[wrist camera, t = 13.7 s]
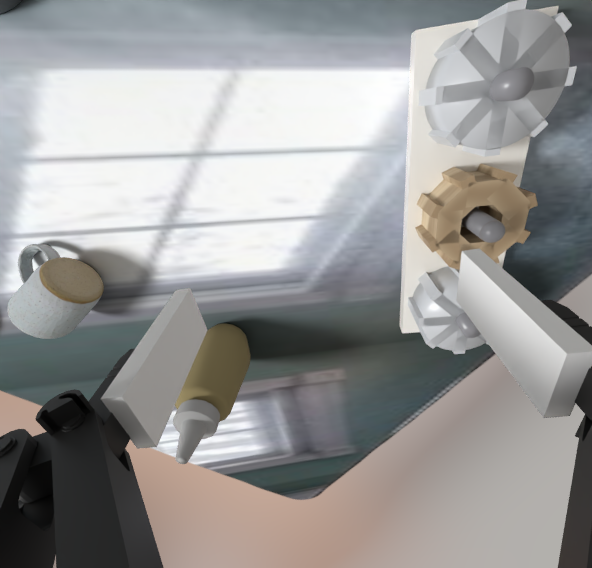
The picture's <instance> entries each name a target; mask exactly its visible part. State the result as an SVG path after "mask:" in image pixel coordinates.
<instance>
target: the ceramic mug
mask: <svg viewBox="0 0 592 568" xmlns="http://www.w3.org/2000/svg"><path fill="white" fill-rule="evenodd" d="M38 251H42V252H43V253H44V254H45V256H46V257H47V259H48V260H49V261H47V262H45V263H43V264H42V265H41V266H39V267H38V268H37V269H36V270H35V271H33V266H32V259H33V256H34V255H35V254H36V253H37V252H38ZM18 267H19V273H20V276H21V279H22V281H23V283H24V284H23V285H22V286H21V287H20V288H19V289H18V291H17V292H16V293H15V294H14V295H13V296H12V297H11V299H10V301H9V303H8V315H9V317H10V319H11V321H12V322H13V324H14V325H15V326H16V327H17V328H19V329H20V330H21V331H23V332H25V333H27V334H29V335H31V336H34V337H38V338H44V339H52V338H58V337H62V336H65V335H67V334H69V333H70V332H72V331H73V330H74V329H75V328H76V327H77V325H78V324H79V323H80V322H81V321H82V320H83V319H84V317H85V316H86V315H87V314H88V313H89V312H90V310H91V309H92V308H93V307H94V306H95V305H96V304H97V303H98V301H99V300H100V298H101V296H102V293H103V289H104V287H103V282H102V279H101V277H100V276H99V274H98V273H97V272H96V271H95V270H94V269H93V268H91V267H90V266H89V265H87V264H85V263H83V262H81V261H79V260H76V259H72V258H60V256H59V254H58V253H57V251H55V250H54V249H53V248H52V247H51V246H49V245H46V244H33V245H29V246H27V247H25V248H24V249H23V250H22V251H21V253H20V256H19V260H18Z"/></svg>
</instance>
